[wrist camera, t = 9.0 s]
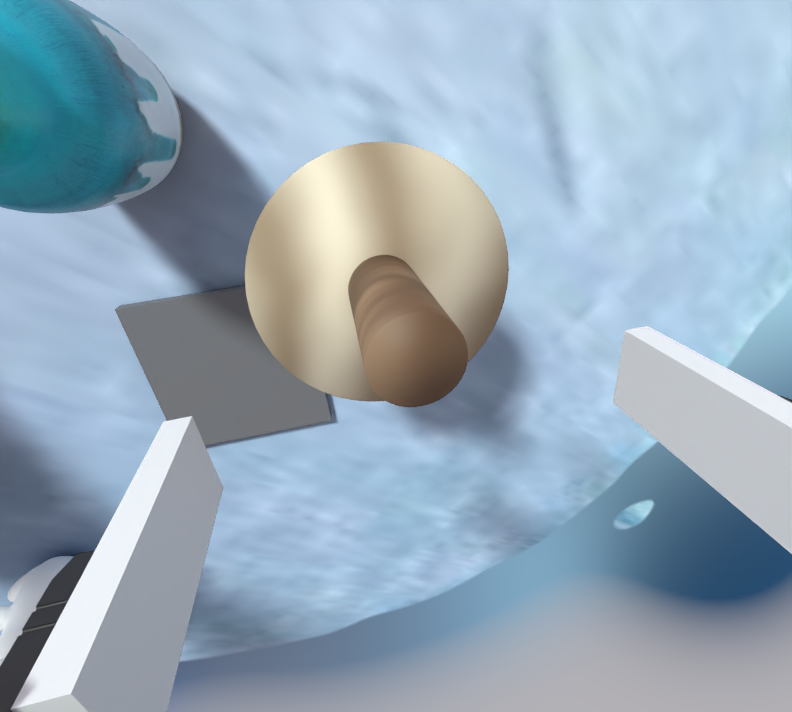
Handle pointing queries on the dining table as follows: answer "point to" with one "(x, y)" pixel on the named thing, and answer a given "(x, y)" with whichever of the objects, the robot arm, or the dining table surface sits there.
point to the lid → (377, 273)
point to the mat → (217, 367)
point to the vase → (78, 111)
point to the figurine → (26, 600)
